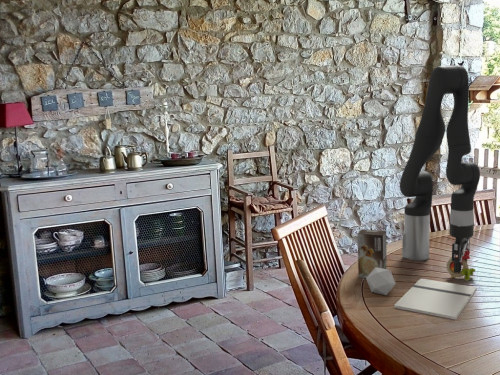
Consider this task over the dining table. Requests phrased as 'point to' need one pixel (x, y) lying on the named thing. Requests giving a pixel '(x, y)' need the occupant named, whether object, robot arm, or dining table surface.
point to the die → (380, 281)
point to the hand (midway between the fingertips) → (460, 268)
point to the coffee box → (371, 251)
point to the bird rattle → (465, 270)
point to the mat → (436, 298)
